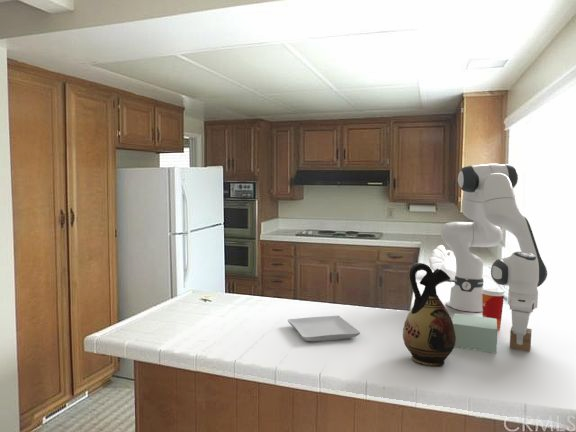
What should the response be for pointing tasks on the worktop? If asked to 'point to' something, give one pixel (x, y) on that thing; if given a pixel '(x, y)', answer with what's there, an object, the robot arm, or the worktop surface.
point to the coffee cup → (493, 304)
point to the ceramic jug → (428, 320)
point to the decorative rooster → (443, 261)
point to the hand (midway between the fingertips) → (520, 340)
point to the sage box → (475, 332)
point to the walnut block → (526, 340)
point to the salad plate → (323, 328)
